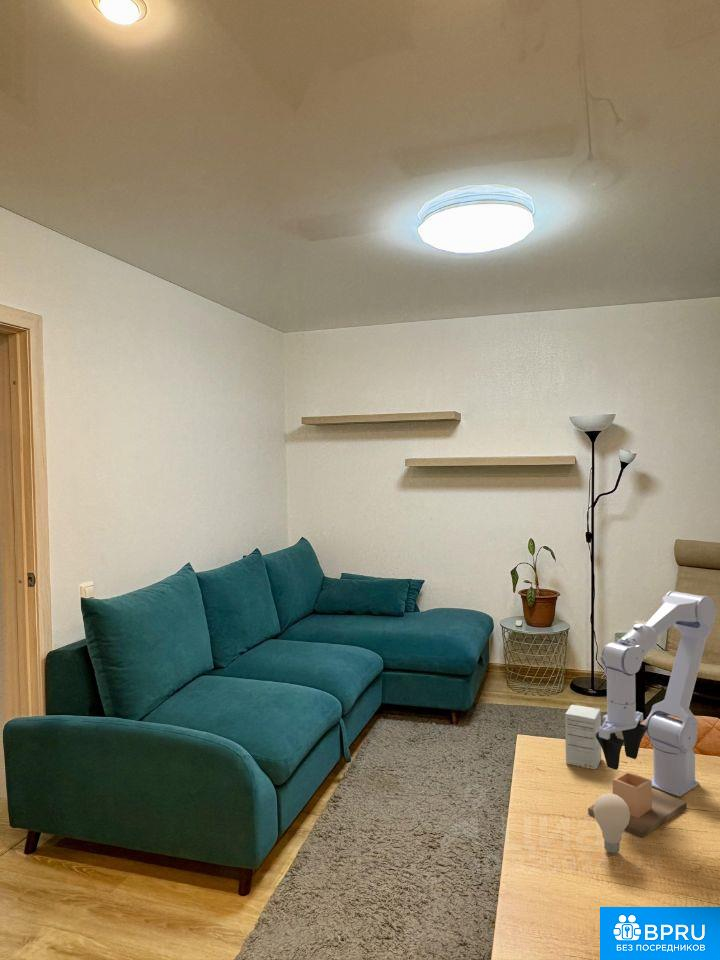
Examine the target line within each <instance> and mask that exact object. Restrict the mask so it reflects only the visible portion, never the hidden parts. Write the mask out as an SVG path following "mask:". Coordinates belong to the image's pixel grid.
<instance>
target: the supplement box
mask: <svg viewBox="0 0 720 960" xmlns="http://www.w3.org/2000/svg"><path fill="white" fill-rule="evenodd" d="M601 719H602V717H601V709H600V708H598V707H597V708H595V707H589V706H584V705H583V706H582V705H577V704H571V705H570V707H569V708H568V709H567V710H566V712H565V713H564V720H565V722H564V724H565V727H564V729H565V730H564V731H565V732H564V733H565V764H566V763H569V764H568V765H570V764H573V765H572V766H574V765H578V766H577V767H579V766H583V767H582V768H584V767H588V768H587V769H589V768H593V769H592V770H594V769H596V768H597V769H598V766H599V764H600V762H601V759H602V747H601V745H600V743H599V742H598V740H597V738H596V733H597V732H599V728H600V727H601V726H602V725H601V723H602V721H601ZM597 769H596V770H597Z"/></svg>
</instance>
